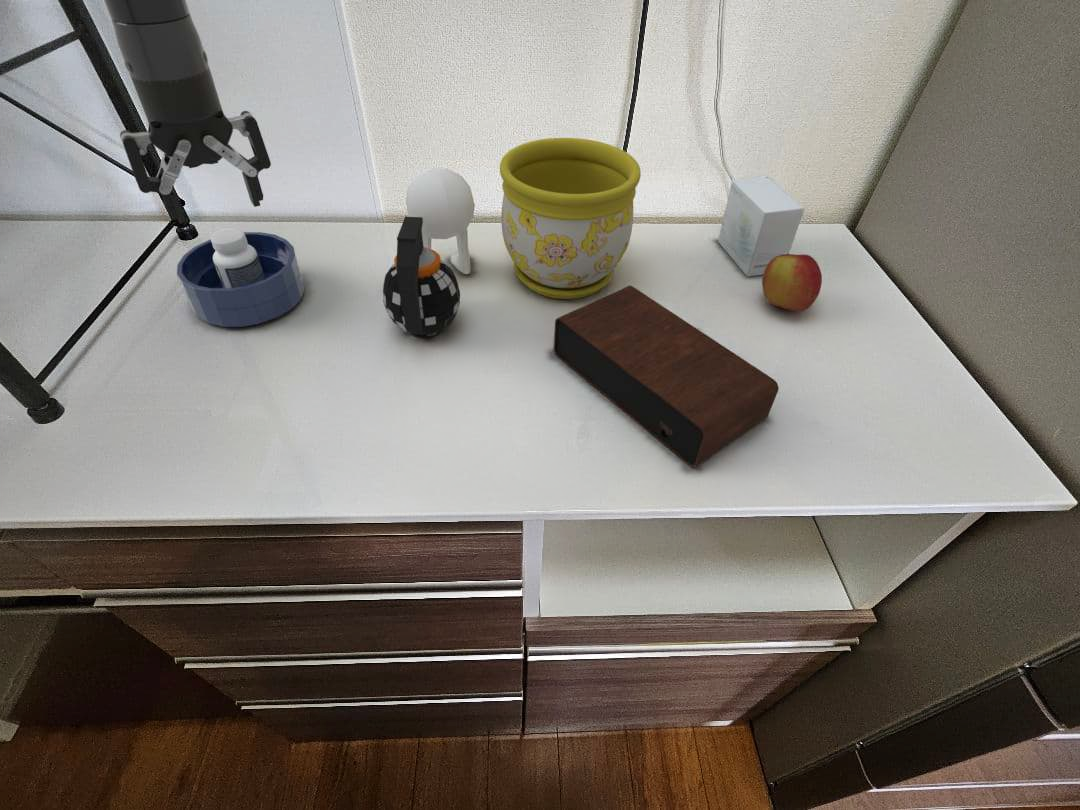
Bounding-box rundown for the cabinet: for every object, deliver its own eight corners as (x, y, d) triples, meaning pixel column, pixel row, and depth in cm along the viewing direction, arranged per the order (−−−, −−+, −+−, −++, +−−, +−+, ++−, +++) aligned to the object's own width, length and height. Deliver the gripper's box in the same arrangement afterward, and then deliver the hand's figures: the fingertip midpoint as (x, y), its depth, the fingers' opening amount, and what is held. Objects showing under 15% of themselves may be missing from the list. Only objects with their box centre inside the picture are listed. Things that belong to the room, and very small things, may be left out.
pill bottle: (277, 290, 85) (259, 231, 79) (250, 310, 82) (228, 250, 76) (247, 280, 87) (227, 221, 81) (219, 299, 83) (195, 239, 77)
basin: (177, 330, 79) (158, 291, 75) (213, 269, 89) (199, 231, 85) (291, 330, 80) (279, 290, 76) (314, 269, 90) (305, 232, 86)
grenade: (455, 361, 77) (445, 253, 66) (378, 357, 77) (356, 249, 66) (466, 306, 85) (459, 202, 74) (396, 304, 85) (379, 199, 74)
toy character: (467, 250, 95) (461, 152, 85) (485, 282, 89) (482, 181, 79) (408, 261, 92) (394, 161, 82) (423, 294, 87) (411, 191, 76)
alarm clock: (765, 422, 71) (781, 383, 66) (694, 470, 65) (707, 432, 61) (621, 320, 84) (627, 282, 79) (553, 353, 78) (555, 315, 74)
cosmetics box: (714, 241, 99) (730, 177, 92) (751, 237, 100) (770, 174, 93) (745, 277, 92) (764, 211, 85) (784, 273, 93) (807, 207, 86)
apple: (815, 300, 88) (836, 249, 83) (804, 330, 83) (825, 278, 78) (762, 284, 91) (778, 234, 85) (747, 313, 86) (764, 262, 80)
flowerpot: (588, 234, 100) (597, 129, 88) (649, 293, 88) (669, 181, 77) (482, 257, 94) (478, 148, 82) (533, 324, 82) (536, 208, 71)
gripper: (231, 48, 70) (270, 187, 81) (86, 65, 64) (150, 213, 75) (249, 66, 65) (287, 211, 77) (95, 86, 59) (161, 240, 71)
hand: (219, 212), depth 76 cm, fingers open, 8 cm apart
